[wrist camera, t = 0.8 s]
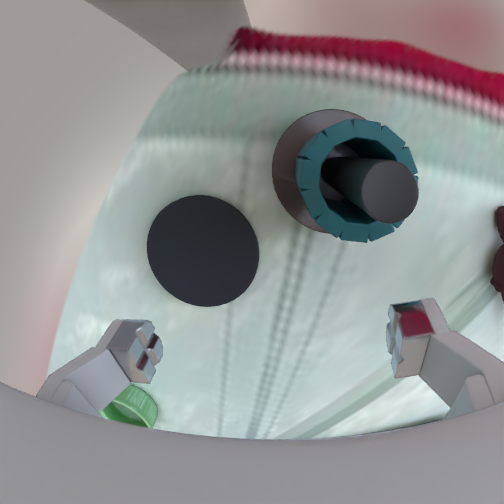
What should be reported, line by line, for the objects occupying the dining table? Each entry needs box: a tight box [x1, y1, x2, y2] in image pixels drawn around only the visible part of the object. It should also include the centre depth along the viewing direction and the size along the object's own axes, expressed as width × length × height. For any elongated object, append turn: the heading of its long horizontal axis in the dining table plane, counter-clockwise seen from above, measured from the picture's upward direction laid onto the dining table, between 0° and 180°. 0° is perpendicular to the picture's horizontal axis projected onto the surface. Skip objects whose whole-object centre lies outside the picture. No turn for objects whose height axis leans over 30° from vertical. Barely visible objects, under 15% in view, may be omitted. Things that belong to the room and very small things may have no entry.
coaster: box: [147, 195, 259, 307], centre depth 29 cm, size 11×11×1 cm
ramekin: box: [100, 384, 157, 429], centre depth 35 cm, size 9×9×4 cm
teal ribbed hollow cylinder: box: [295, 118, 418, 243], centre depth 19 cm, size 6×6×8 cm
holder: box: [272, 109, 419, 234], centre depth 18 cm, size 10×10×16 cm
